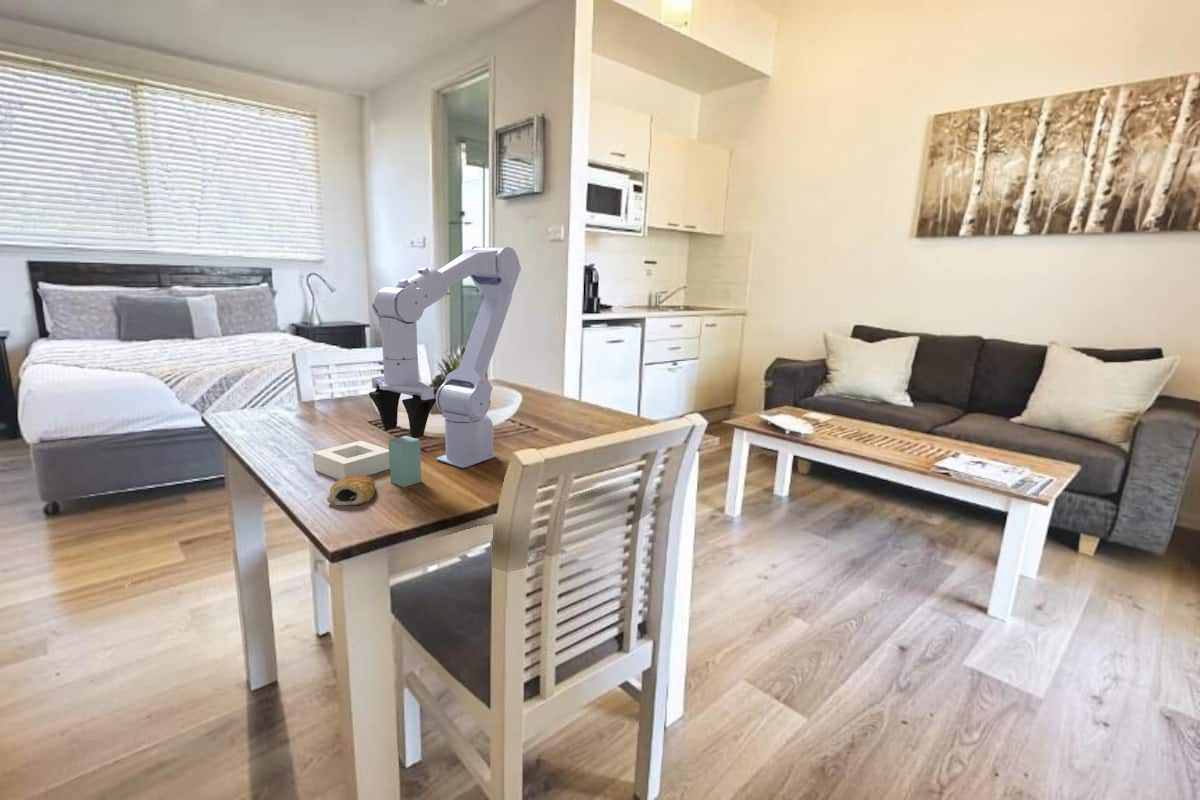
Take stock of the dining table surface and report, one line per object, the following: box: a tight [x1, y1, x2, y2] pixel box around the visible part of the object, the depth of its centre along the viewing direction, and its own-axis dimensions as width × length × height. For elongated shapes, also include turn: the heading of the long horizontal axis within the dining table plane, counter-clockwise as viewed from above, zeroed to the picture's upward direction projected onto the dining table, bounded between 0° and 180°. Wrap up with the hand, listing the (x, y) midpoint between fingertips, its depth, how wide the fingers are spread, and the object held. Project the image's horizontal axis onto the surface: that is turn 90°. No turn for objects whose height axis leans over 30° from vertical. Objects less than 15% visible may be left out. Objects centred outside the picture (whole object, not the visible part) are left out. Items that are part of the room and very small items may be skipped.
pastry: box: [326, 475, 376, 506], centre depth 97 cm, size 9×7×4 cm
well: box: [312, 440, 390, 481], centre depth 109 cm, size 10×10×4 cm
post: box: [387, 435, 422, 488], centre depth 103 cm, size 4×4×8 cm
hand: (403, 432), depth 102 cm, fingers open, 7 cm apart
